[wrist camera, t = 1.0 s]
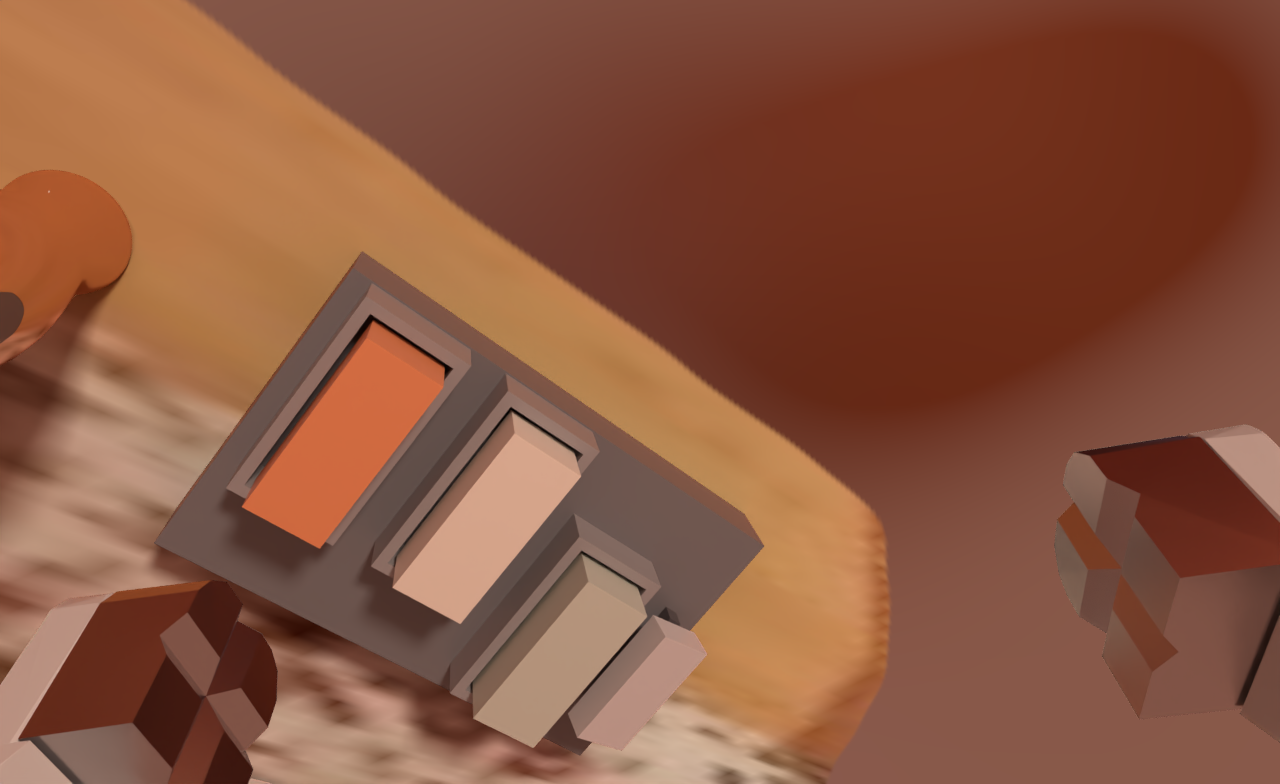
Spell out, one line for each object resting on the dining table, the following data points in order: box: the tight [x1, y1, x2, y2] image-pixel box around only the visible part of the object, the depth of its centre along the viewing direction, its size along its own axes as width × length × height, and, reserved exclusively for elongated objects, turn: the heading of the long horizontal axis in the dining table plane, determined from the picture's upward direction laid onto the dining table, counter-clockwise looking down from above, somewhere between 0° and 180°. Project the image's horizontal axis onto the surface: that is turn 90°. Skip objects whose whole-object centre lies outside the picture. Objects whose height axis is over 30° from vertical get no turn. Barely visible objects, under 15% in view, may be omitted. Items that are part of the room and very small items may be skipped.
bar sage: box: [473, 552, 647, 748], centre depth 47 cm, size 4×10×3 cm, turn 141°
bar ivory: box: [392, 410, 581, 624], centre depth 44 cm, size 4×10×3 cm, turn 141°
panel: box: [154, 252, 764, 755], centre depth 49 cm, size 28×18×7 cm, turn 51°
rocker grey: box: [568, 615, 707, 751], centre depth 50 cm, size 4×8×2 cm, turn 141°
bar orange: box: [242, 319, 445, 549], centre depth 41 cm, size 4×10×3 cm, turn 141°
